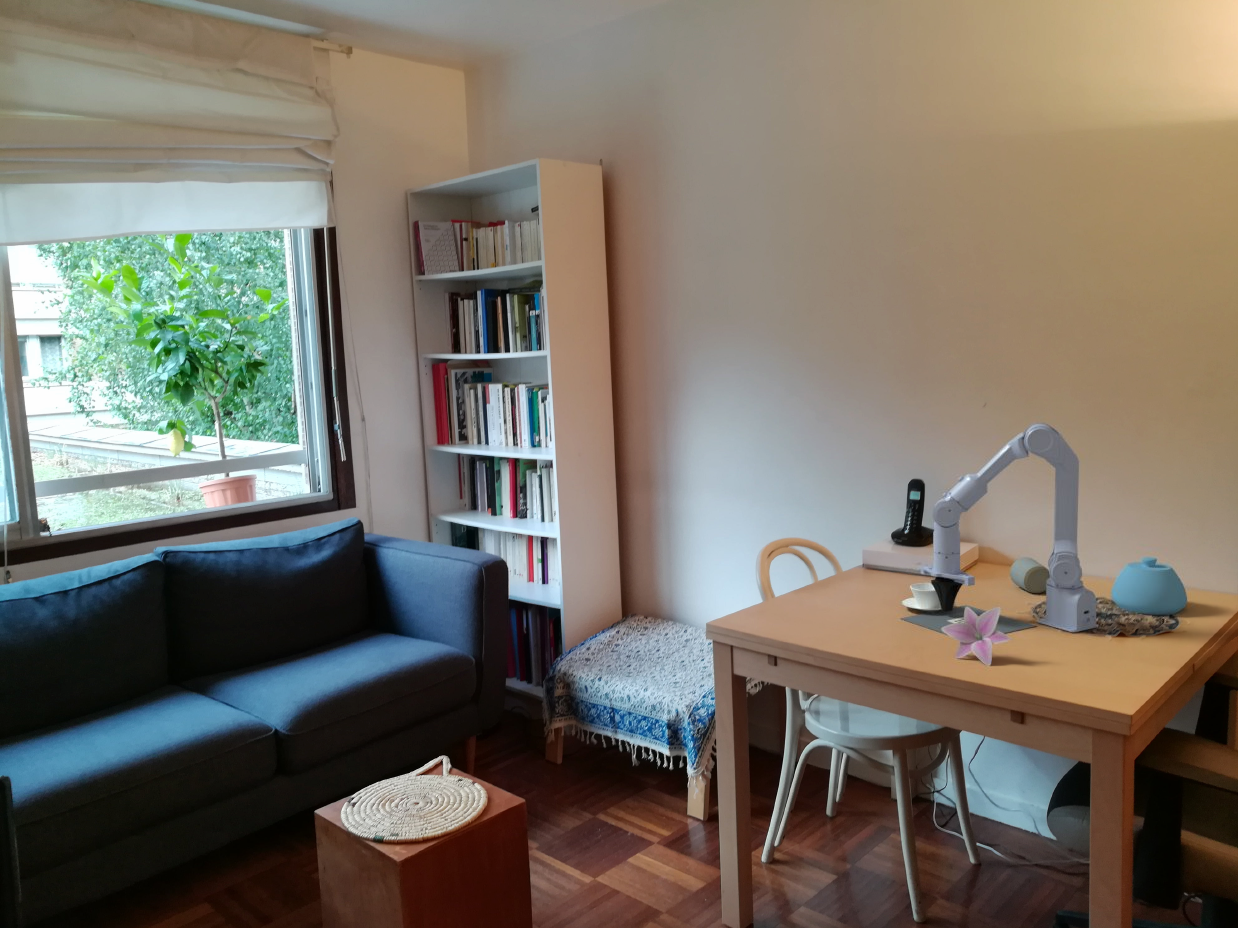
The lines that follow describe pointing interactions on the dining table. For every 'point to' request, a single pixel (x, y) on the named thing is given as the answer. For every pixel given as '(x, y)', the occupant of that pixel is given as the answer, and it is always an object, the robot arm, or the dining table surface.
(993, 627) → the lily
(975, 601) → the dining table surface
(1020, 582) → the ceramic mug
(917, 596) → the teacup
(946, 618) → the label mat
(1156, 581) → the sugar bowl
